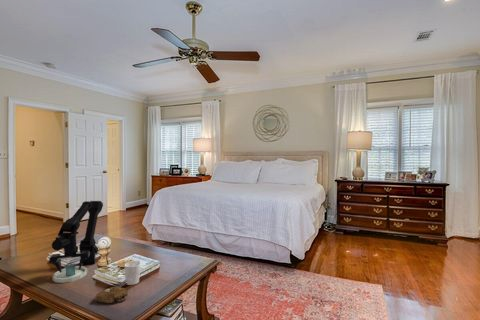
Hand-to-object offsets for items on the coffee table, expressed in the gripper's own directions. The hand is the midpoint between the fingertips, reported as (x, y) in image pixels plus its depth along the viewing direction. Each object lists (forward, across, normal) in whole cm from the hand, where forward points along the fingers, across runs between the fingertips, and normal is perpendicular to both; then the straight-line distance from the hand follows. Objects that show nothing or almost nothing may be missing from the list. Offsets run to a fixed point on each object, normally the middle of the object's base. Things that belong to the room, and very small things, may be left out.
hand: (70, 271), depth 148 cm
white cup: (+3, -33, +20) cm, 39 cm away
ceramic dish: (+3, 0, 0) cm, 3 cm away
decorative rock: (+3, -25, +33) cm, 42 cm away
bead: (+2, 0, 0) cm, 2 cm away
